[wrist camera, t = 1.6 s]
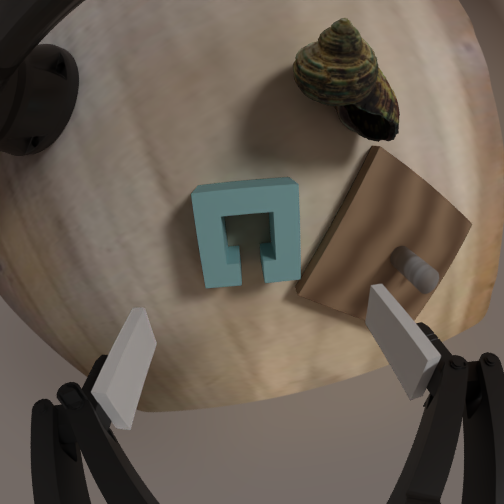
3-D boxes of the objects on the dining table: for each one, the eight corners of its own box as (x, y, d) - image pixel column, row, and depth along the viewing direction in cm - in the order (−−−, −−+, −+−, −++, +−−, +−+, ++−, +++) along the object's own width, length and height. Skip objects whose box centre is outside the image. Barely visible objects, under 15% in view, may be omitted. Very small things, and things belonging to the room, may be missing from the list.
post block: (295, 287, 35) (311, 330, 27) (372, 145, 29) (414, 150, 21) (398, 327, 40) (424, 363, 31) (464, 220, 33) (503, 241, 25)
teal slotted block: (198, 185, 30) (190, 193, 25) (289, 177, 30) (298, 184, 26) (209, 267, 34) (205, 288, 29) (292, 259, 34) (300, 279, 29)
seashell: (292, 143, 29) (317, 145, 20) (280, 48, 24) (298, 12, 15) (378, 141, 29) (428, 146, 20) (367, 52, 24) (411, 28, 15)
